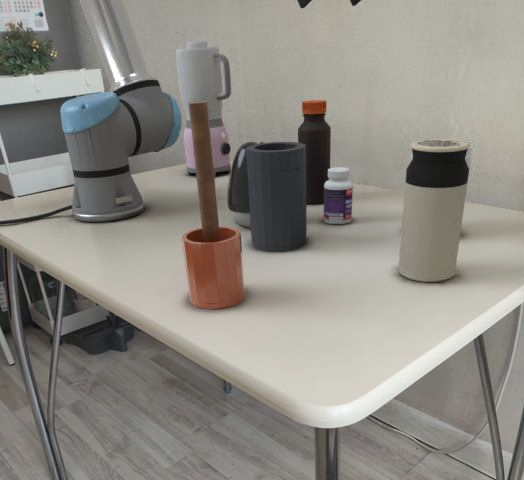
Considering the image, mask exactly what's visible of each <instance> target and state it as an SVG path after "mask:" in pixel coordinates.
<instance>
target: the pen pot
mask: <svg viewBox="0 0 524 480" xmlns="http://www.w3.org/2000/svg"><path fill="white" fill-rule="evenodd" d="M219 233H220V241H218V242H210V243H204V241H203V232H202V227H198V228H194V229H190V230H188V231H186V232H184V233H183V234H182V236H181V243H182V251H183V258H184V266H185V267H184V268H185V275H186V283H187V289H188V295H189V301H190V303H191V304H192V305H193V306H195V307H197V308H200V309H206V310H219V309H225V308H230V307H233V306H236V305H238V304H239V303H241V302H242V301H243V300H244V299H245V297H246V296H245V293H246V292H245V276H244V275H245V274H244V262H243V260H244V259H243V247H242V246H243V245H242V235H241V231H240V230H239V229H237V228H235V227H231V226H226V225H225V226H223V225H219Z"/></svg>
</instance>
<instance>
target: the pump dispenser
mask: <svg viewBox="0 0 524 480" xmlns="http://www.w3.org/2000/svg"><path fill="white" fill-rule="evenodd" d="M261 143H265V141H261V142H259V143H258V142H257V141H247V142H244V143H243V144H241V145H240V146H239V147H238V149H237V150H236V152H235V155H234V157H233V160H232V163H231V166H230V167H231V169H230V173H229V178H228V183H227V184H228V185H227V200H226V202H227V203H226V205H227V209H228V210H229V213H230V215H231V217H232V218H233V220H234V221H235V223H237V224H239V225H240V226H242V227H245V228H250V229H251V223H250V207H249V191H248V175H247V159H246V148H247V147H249V146H251V145H255V144H261Z"/></svg>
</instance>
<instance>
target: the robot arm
mask: <svg viewBox="0 0 524 480" xmlns="http://www.w3.org/2000/svg"><path fill="white" fill-rule="evenodd" d="M78 1H79V4H80V6H81V10H82V12H83V15H84V17H85V20H86V22H87V25H88V28H89V31H90V33H91V36H92V38H93V39H92V40H93V41H94V44H95V47H96V50H97V52H98V55H99V58H100V61H101V63H102V67H103V69H104V72H105V74H106V77H107V79H108V82H109V85H110V88H109V91H106V92H105V91H104V92H96V93H92V94H85V95H80V96H76V97H75V98H70V99H68V100H66V101H65V102H63V104H62V105H61V107H60V120H61V129H62V131H63V133H64V138H65V143H66V147H67V152H68V156H69V161H70V166H71V169H72V175H73V180H74V182H73V183H74V184H73V191H72V192H73V193H72V202H71V204H69V205H67V206H64V207H61V208H58V209H55V210H53V211H49V212H46V213H42V214H41V213H40V214H38V215H37V214H36V215H33V216H28V217H27V216H26V217H21V218H15V219H14V218H13V219H6V220H5V219H4V220H0V226H2V225H12V224H18V223H24V222H30V221H31V222H32V221H35V220H41V219H44V218H48V217H51V216H55V215H58V214H60V213H63V212H67V211H69V210H72V216H73V218H74V219H75V220H77V221H80V222H85V223H105V222H114V221H120V220H124V219H128V218H132V217H135V216H138V215H140V214H141V213H143V212H144V211H145V210H146V209H145V202H144V199H143V197H142V194H141V192H140V190H139V188H138V187H137V185H136V183H135V180H134V178H133V176H132V174H131V169H130V163H129V158H131V157H136V156H140V155H145V154H149V153H158V152H160V151H162V150H166V149H168V148H171V147H172V146H174V144H175V143H176V142H177V141H178V139H179V137H180V133H181V131H182V123H183V122H182V121H183V120H182V113H181V108H180V105H179V104H178V101H177V100H176V98H174V97H173V96H172V95H171V94H170V93H167V92H164V91H163V90H162V87H161V83H160V82H159V79H158V78H156V77H154V76H152V75H151V74H150V73H149V71H148V69H147V65H146V62H145V60H144V56H143V54H142V50H141V49H140V45H139V43H138V39H137V36H136V34H135V32H134V29H133V25H132V23H131V20H130V17H129V15H128V11H127V9H126V6H125V2H124V0H78ZM312 1H313V0H297V3H298V5H299V7H300V9H306V7H307V6H308V5H309V4H310V3H311V2H312ZM361 1H362V0H349V2H350V4H351V6H352V7H355V6H357V5H358V4H359V3H360V2H361Z"/></svg>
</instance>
